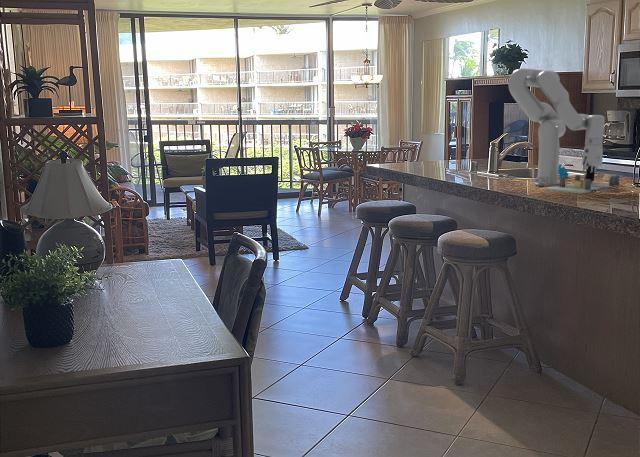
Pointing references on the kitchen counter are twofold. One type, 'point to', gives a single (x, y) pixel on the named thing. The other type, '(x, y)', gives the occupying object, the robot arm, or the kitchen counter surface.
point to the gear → (562, 171)
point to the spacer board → (588, 185)
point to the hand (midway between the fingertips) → (589, 180)
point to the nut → (579, 184)
